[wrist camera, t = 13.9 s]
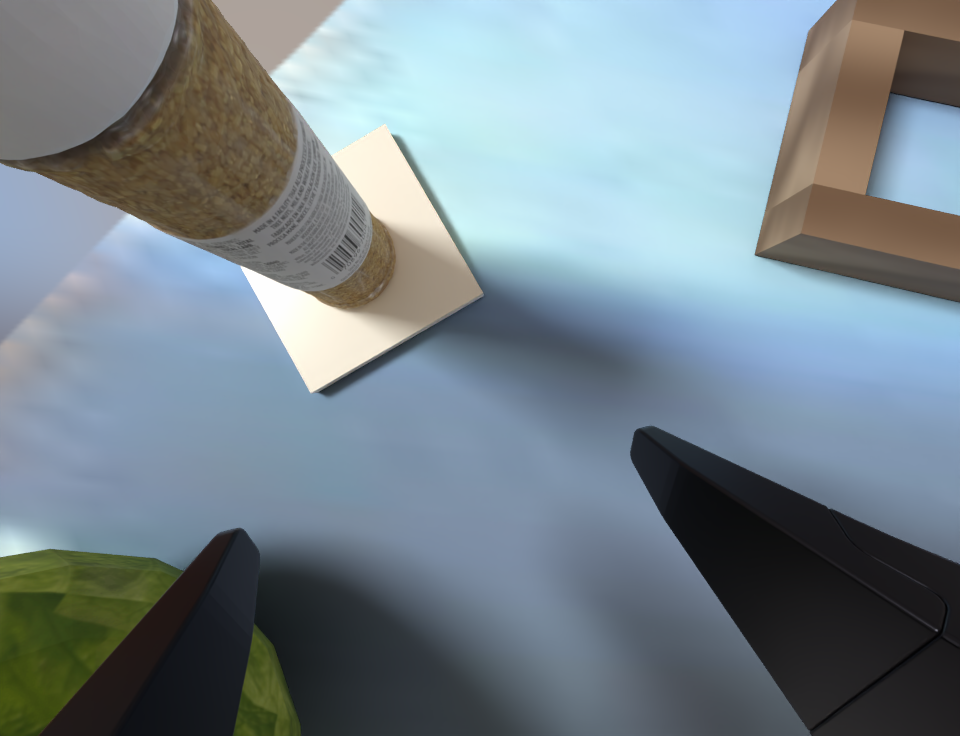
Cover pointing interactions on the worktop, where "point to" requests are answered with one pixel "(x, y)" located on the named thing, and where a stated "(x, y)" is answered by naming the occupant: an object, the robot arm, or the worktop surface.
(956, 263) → the socket block
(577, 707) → the worktop surface
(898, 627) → the robot arm
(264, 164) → the sprinkles bottle
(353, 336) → the pad
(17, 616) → the lettuce
